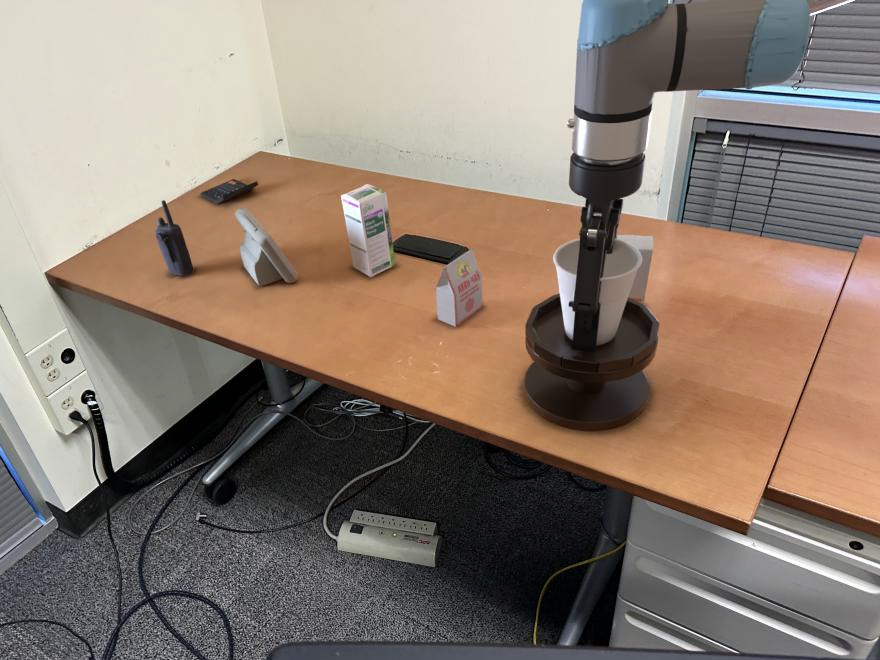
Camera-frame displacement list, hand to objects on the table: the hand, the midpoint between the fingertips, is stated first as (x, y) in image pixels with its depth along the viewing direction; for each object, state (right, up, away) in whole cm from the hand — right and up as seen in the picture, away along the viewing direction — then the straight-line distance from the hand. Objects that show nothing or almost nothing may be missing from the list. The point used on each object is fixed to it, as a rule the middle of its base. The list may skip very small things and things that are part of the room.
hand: (590, 328), depth 86 cm
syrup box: (-27, +14, +40) cm, 50 cm away
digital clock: (-46, +14, +43) cm, 65 cm away
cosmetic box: (+11, +4, +19) cm, 23 cm away
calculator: (-60, +37, +74) cm, 102 cm away
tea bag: (-13, +4, +24) cm, 28 cm away
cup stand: (+1, -8, +6) cm, 10 cm away
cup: (0, -1, +1) cm, 1 cm away
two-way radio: (-64, +14, +47) cm, 81 cm away
